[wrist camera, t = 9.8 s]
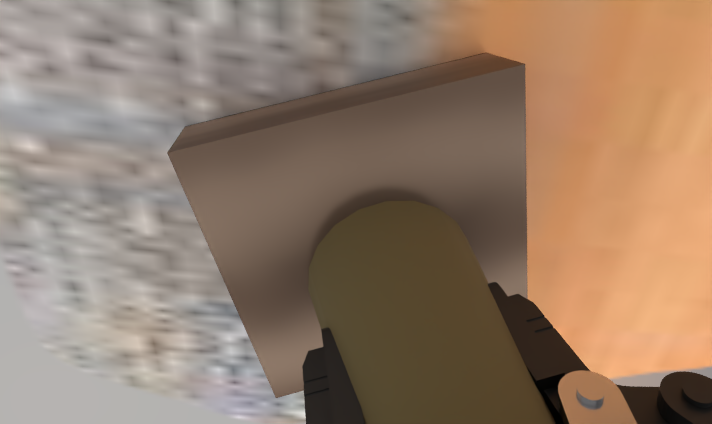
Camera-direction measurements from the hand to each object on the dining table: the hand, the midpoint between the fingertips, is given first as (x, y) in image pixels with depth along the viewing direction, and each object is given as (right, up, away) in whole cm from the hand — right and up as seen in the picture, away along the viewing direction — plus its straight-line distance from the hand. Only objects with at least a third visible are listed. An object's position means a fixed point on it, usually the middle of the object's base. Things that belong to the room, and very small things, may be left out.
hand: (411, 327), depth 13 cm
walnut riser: (-1, +3, +6) cm, 7 cm away
